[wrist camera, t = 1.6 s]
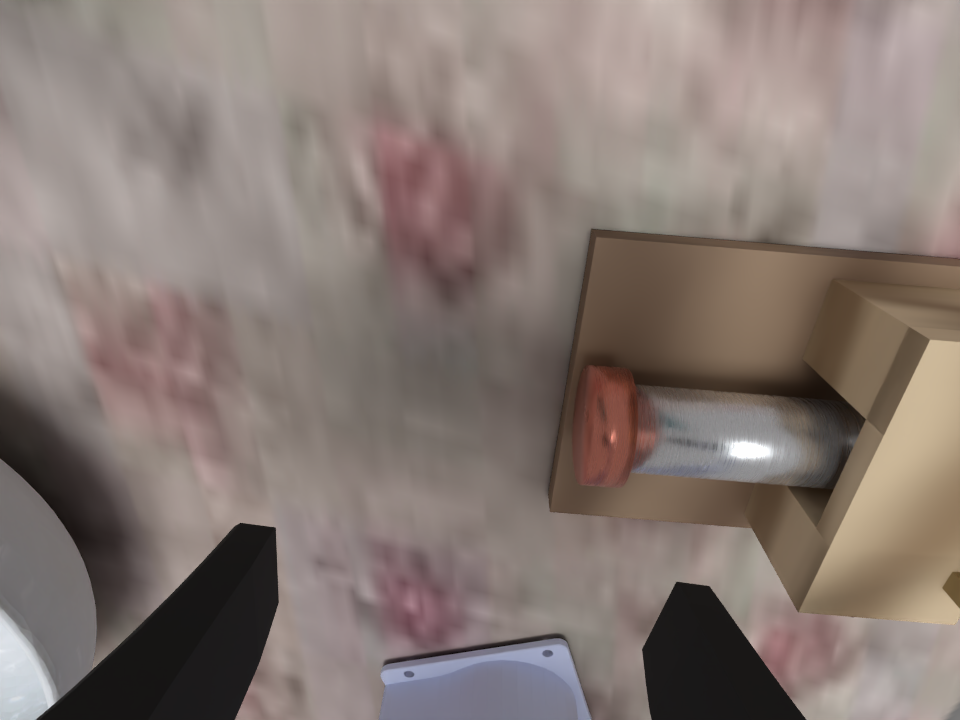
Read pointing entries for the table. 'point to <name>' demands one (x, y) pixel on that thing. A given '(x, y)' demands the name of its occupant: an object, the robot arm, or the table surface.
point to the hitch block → (803, 374)
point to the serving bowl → (40, 604)
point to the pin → (706, 434)
